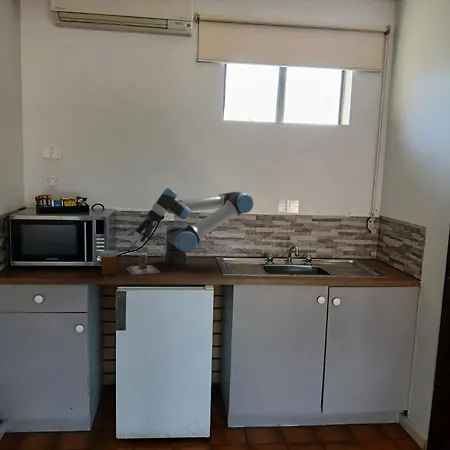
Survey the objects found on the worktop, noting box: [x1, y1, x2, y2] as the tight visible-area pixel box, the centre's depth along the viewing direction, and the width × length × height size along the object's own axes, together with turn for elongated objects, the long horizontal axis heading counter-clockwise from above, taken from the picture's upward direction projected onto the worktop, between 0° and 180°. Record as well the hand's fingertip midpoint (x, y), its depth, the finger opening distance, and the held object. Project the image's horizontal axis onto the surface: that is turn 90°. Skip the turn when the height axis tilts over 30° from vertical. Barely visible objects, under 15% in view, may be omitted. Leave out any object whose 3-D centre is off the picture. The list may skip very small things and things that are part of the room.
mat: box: [125, 267, 162, 275], centre depth 262 cm, size 16×15×1 cm
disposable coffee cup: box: [99, 249, 118, 275], centre depth 254 cm, size 10×10×12 cm
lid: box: [128, 254, 159, 275], centre depth 261 cm, size 13×13×8 cm
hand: (134, 244), depth 259 cm, fingers open, 13 cm apart
